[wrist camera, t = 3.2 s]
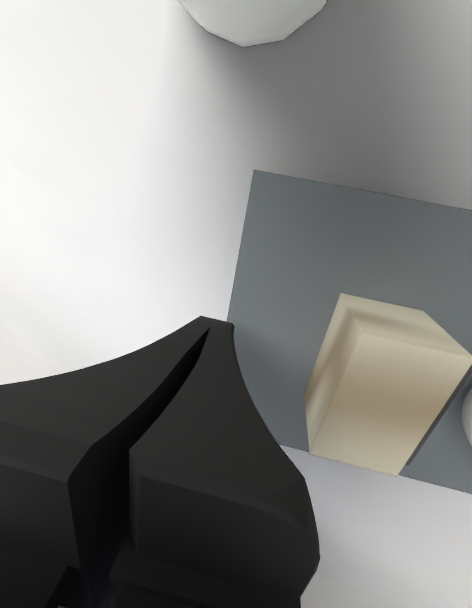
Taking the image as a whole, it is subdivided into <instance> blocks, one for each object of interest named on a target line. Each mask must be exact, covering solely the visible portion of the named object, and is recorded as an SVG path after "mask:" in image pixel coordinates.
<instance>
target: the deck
mask: <svg viewBox="0 0 472 608" xmlns="http://www.w3.org/2000/svg"><path fill="white" fill-rule="evenodd" d="M341 293H343V294H348V295H352V296H357V297H362V298H366V299H371V300H376V301H380V302H385V303H390V304H394V305H399V306H404V307H408V308H413V309H418V310H422V311H424V312H425V313H426V314H427V315H429V316H430V317H431V318H432V319H433V320H434V321H435V322H436V323H437V324H438V325H439V326H440V327H442V328H443V329H444V330H445V331H446V332H447V333H448V334H449V335H450V336H451V337H452V338H453V339H454V340H456V341H457V342H458V343H459V344H460V345H461V346H462V347H463V348H464V349H465V350H466V351H467V352H468V353H470V354H471V355H472V211H471V210H466V209H461V208H455V207H450V206H445V205H439V204H434V203H429V202H423V201H418V200H413V199H407V198H402V197H397V196H391V195H386V194H381V193H375V192H370V191H365V190H359V189H354V188H349V187H343V186H338V185H333V184H327V183H322V182H317V181H312V180H306V179H301V178H296V177H290V176H285V175H280V174H274V173H269V172H264V171H258V170H254V172H253V177H252V183H251V188H250V194H249V200H248V205H247V211H246V216H245V222H244V228H243V233H242V239H241V244H240V250H239V256H238V261H237V267H236V272H235V278H234V284H233V289H232V295H231V300H230V306H229V312H228V317H227V322H230V323H233V325H234V326H235V329H234V345H235V351H236V356H237V360H238V364H239V367H240V370H241V374H242V376H243V379H244V382H245V384H246V387H247V389H248V392H249V394H250V396H251V398H252V400H253V402H254V404H255V406H256V408H257V410H258V412H259V413H260V415H261V417H262V419H263V420H264V422H265V424H266V426H267V427H268V429H269V431H270V432H271V434H272V435H273V437H274V438H275V440H276V441H277V443H278V444H280V445H284V446H288V447H292V448H296V449H300V450H303V451H307V452H309V442H308V431H307V421H306V411H305V400H304V393H305V390H306V387H307V384H308V382H309V379H310V376H311V373H312V371H313V368H314V365H315V362H316V360H317V357H318V354H319V351H320V349H321V346H322V343H323V340H324V338H325V335H326V332H327V329H328V327H329V324H330V321H331V318H332V316H333V313H334V310H335V307H336V305H337V302H338V299H339V296H340V294H341ZM471 388H472V374H471V375H470V376H469V378H468V379H467V381H466V382H465V384H464V385H463V387H462V388H461V390H460V391H459V393H458V394H457V396H456V397H455V399H454V400H453V402H452V403H451V404H450V406H449V407H448V409H447V410H446V412H445V413H444V415H443V416H442V418H441V419H440V421H439V422H438V424H437V425H436V427H435V428H434V429H433V431H432V432H431V434H430V435H429V437H428V438H427V440H426V441H425V443H424V444H423V446H422V447H421V449H420V450H419V452H418V453H417V455H416V456H415V457H414V459H413V460H412V462H411V463H410V465H409V466H408V465H404V466H403V468H402V469H401V471H400V472H399V474H398V475H400V476H404V477H408V478H412V479H416V480H420V481H424V482H428V483H431V484H435V485H439V486H443V487H447V488H451V489H455V490H459V491H462V492H466V493H470V494H472V446H471V444H470V442H469V440H468V438H467V436H466V433H465V431H464V427H463V423H462V407H463V402H464V399H465V397H466V395H467V394H468V392H469V390H470V389H471Z"/></svg>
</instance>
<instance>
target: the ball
mask: <svg viewBox="0 0 472 608" xmlns="http://www.w3.org/2000/svg"><path fill="white" fill-rule="evenodd" d="M462 423H463V427H464V431H465V433H466V436H467V438H468V440H469V442H470V444H471V446H472V388H471V389H470V390H469V392H468V394H467V395H466V397H465V399H464V402H463V407H462Z"/></svg>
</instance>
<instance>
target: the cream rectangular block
mask: <svg viewBox="0 0 472 608" xmlns="http://www.w3.org/2000/svg"><path fill="white" fill-rule="evenodd" d="M471 374H472V355H471V354H470V353H468V352H467V351H466V350H465V349H464V348H463V347H462V346H461V345H460V344H459V343H458V342H457V341H456V340H454V339H453V338H452V337H451V336H450V335H449V334H448V333H447V332H446V331H445V330H444V329H443V328H442V327H440V326H439V325H438V324H437V323H436V322H435V321H434V320H433V319H432V318H431V317H430V316H429V315H427V314H426V313H425V312H424V311H422V310H418V309H413V308H408V307H404V306H399V305H394V304H390V303H385V302H380V301H376V300H371V299H366V298H362V297H357V296H352V295H348V294H343V293H341V294H340V296H339V299H338V302H337V305H336V307H335V310H334V313H333V316H332V318H331V321H330V324H329V327H328V329H327V332H326V335H325V338H324V340H323V343H322V346H321V349H320V351H319V354H318V357H317V360H316V362H315V365H314V368H313V371H312V373H311V376H310V379H309V382H308V384H307V387H306V390H305V393H304V400H305V411H306V421H307V431H308V442H309V452H310V454H311V455H315V456H319V457H323V458H327V459H331V460H335V461H339V462H342V463H346V464H350V465H354V466H358V467H362V468H366V469H370V470H373V471H377V472H381V473H385V474H389V475H393V476H397V475H398V474H399V472H400V471H401V469H402V468H403V466H404V465H408V466H409V465H410V463H411V462H412V460H413V459H414V457H415V456H416V455H417V453H418V452H419V450H420V449H421V447H422V446H423V444H424V443H425V441H426V440H427V438H428V437H429V435H430V434H431V432H432V431H433V429H434V428H435V427H436V425H437V424H438V422H439V421H440V419H441V418H442V416H443V415H444V413H445V412H446V410H447V409H448V407H449V406H450V404H451V403H452V402H453V400H454V399H455V397H456V396H457V394H458V393H459V391H460V390H461V388H462V387H463V385H464V384H465V382H466V381H467V379H468V378H469V376H470V375H471Z"/></svg>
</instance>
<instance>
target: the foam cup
mask: <svg viewBox="0 0 472 608" xmlns="http://www.w3.org/2000/svg"><path fill="white" fill-rule="evenodd" d="M177 1H178V2H179V3H180V4H181V5H182V6H183V7H184V8H185V9H186V10H187V11H188V13H189V14H190V15H191V16H192V17H193V18H194V19H195V20H196V21H197V22H198V23H199V24H200V25H201V26H203V27H204V29H205V30H206V31H207V32H210V33H212V34H214V35H217V36H219V37H221V38H223V39H226V40H228V41H230V42H233V43H235V44H237V45H239V46H242V47H246V46H252V45H257V44H263V43H269V42H275V41H280V40H284V39H285V38H286V37H288V36H289V35H290V34H291V33H293V32H294V31H295V30H296V29H298V28H299V27H300V26H302V25H303V24H304V23H305V22H307V21H308V20H309V19H310V18H312V17H313V16H314V15H315V14H317V13H318V12H319V11H320V10H322V8H323V7H324V5H325V3H326V2H327V0H177Z"/></svg>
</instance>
